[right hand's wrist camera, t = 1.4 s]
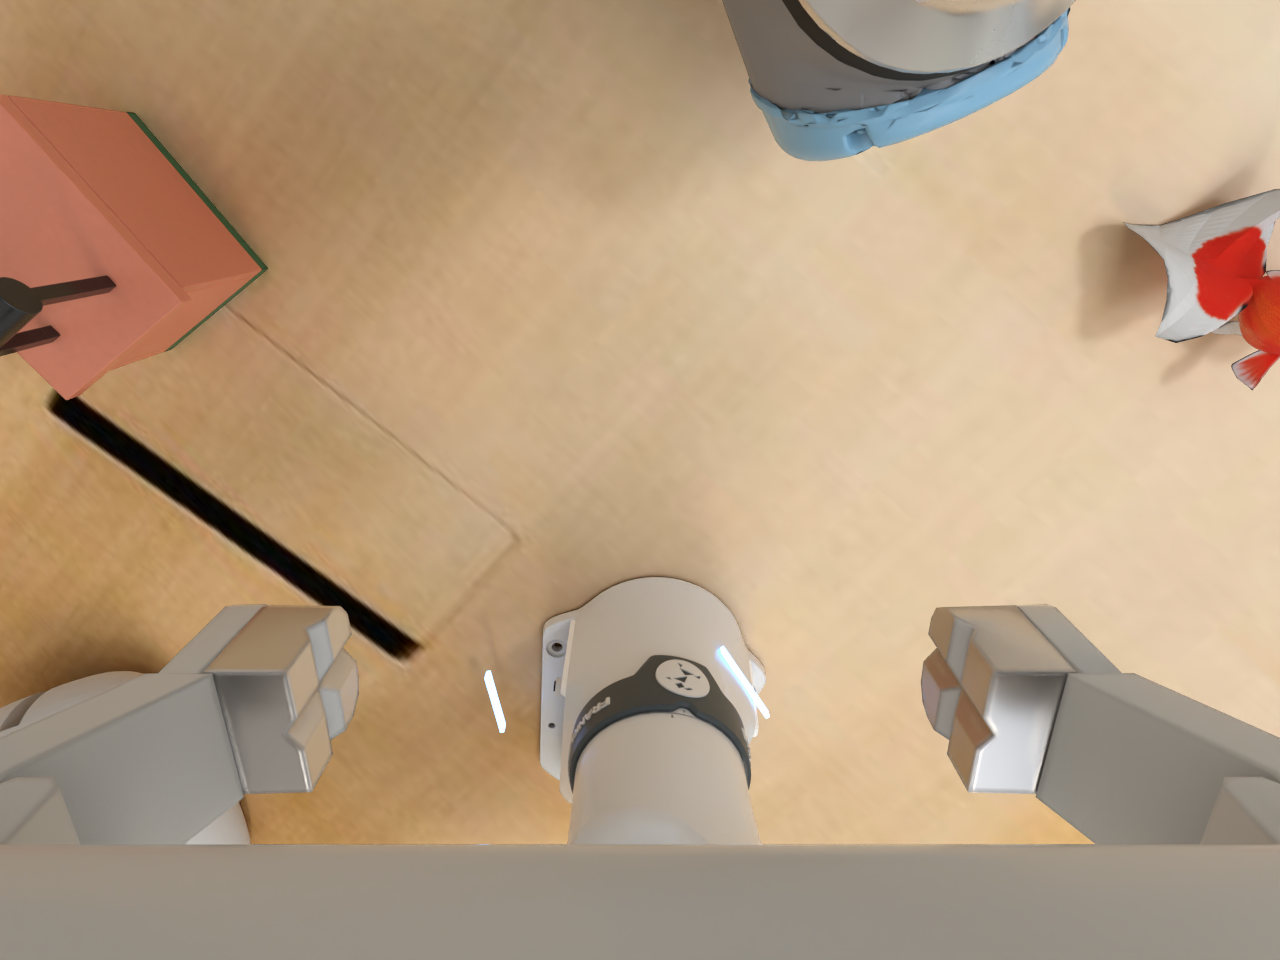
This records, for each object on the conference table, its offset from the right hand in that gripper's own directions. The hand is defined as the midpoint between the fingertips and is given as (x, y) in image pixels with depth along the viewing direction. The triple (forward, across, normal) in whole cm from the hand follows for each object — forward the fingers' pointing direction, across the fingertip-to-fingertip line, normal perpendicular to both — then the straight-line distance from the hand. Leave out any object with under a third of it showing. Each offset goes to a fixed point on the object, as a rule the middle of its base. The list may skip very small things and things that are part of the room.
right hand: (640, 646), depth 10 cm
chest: (+42, -32, +3) cm, 53 cm away
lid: (+32, -32, +3) cm, 46 cm away
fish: (+42, +37, 0) cm, 56 cm away
